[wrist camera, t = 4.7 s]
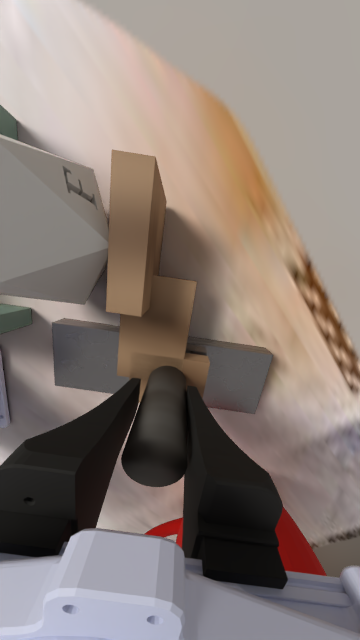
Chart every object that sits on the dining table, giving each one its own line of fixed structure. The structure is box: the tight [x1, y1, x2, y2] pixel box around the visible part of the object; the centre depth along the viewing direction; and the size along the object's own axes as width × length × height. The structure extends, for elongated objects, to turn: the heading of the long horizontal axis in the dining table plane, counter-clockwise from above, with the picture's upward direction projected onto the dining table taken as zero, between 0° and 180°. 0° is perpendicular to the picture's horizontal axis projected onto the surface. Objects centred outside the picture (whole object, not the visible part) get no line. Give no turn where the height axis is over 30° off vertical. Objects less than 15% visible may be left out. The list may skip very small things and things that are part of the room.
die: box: [0, 134, 109, 304], centre depth 10 cm, size 8×9×10 cm
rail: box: [52, 318, 273, 414], centre depth 16 cm, size 6×18×2 cm, turn 82°
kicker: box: [106, 150, 210, 487], centre depth 11 cm, size 16×7×9 cm, turn 172°
